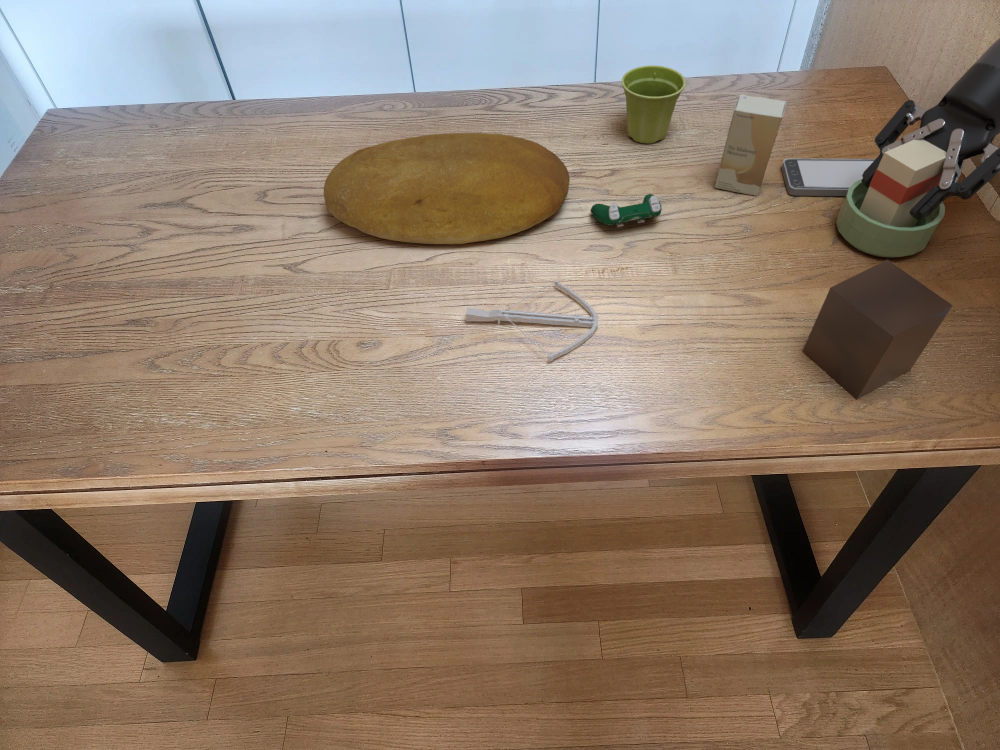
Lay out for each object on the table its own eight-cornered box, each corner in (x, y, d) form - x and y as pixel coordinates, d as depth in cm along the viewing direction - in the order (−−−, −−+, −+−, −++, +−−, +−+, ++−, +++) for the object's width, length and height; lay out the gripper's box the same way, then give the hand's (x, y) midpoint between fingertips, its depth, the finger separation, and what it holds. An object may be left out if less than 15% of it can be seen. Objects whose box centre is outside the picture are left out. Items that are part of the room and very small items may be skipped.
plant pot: (679, 119, 107) (687, 66, 100) (675, 152, 101) (683, 98, 95) (621, 116, 109) (625, 63, 102) (613, 148, 103) (618, 95, 96)
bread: (336, 181, 102) (318, 121, 95) (562, 162, 102) (563, 100, 94) (321, 260, 91) (299, 199, 83) (576, 239, 90) (578, 176, 82)
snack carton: (914, 229, 86) (953, 154, 77) (879, 245, 84) (915, 171, 76) (885, 210, 89) (920, 136, 80) (851, 226, 87) (883, 152, 79)
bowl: (946, 241, 85) (965, 209, 81) (883, 273, 82) (899, 241, 79) (877, 197, 92) (891, 165, 88) (815, 225, 89) (827, 193, 85)
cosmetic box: (713, 189, 95) (731, 109, 86) (719, 172, 98) (737, 92, 88) (759, 197, 93) (783, 116, 84) (764, 179, 96) (787, 99, 86)
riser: (910, 369, 73) (953, 305, 65) (856, 399, 71) (893, 336, 63) (854, 324, 78) (887, 259, 70) (801, 351, 76) (830, 287, 68)
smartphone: (782, 158, 97) (891, 159, 95) (780, 164, 98) (888, 165, 96) (790, 188, 92) (905, 190, 90) (788, 195, 93) (902, 196, 91)
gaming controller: (593, 233, 94) (604, 228, 88) (588, 206, 93) (599, 199, 87) (655, 221, 94) (670, 215, 88) (651, 194, 94) (666, 186, 88)
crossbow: (597, 292, 85) (599, 281, 83) (595, 369, 77) (597, 357, 75) (473, 283, 86) (473, 271, 84) (459, 357, 78) (458, 346, 76)
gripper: (943, 40, 77) (835, 160, 84) (1061, 92, 69) (931, 221, 75) (954, 71, 83) (851, 182, 89) (1065, 123, 75) (943, 241, 81)
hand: (888, 200), depth 82 cm, fingers open, 7 cm apart
